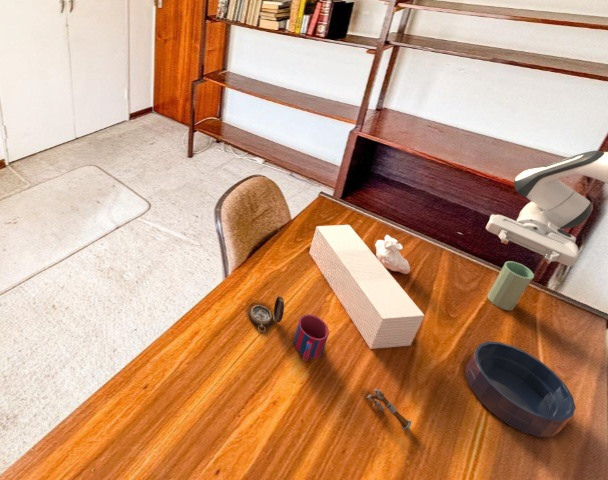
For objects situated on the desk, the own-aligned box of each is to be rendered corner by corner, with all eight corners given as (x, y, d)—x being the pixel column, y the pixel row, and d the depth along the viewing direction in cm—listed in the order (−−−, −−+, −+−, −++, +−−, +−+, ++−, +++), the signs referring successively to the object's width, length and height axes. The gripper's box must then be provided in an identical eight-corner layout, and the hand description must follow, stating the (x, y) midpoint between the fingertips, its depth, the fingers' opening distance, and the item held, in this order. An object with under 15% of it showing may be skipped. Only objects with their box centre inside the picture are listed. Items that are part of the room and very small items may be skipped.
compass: (248, 305, 106) (251, 285, 103) (278, 311, 105) (283, 291, 102) (248, 331, 99) (252, 311, 96) (280, 338, 98) (286, 318, 94)
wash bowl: (513, 359, 95) (525, 341, 92) (582, 438, 80) (599, 420, 77) (447, 359, 94) (457, 341, 91) (504, 438, 79) (518, 420, 77)
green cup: (502, 292, 113) (520, 261, 108) (520, 310, 108) (540, 278, 103) (481, 292, 113) (499, 261, 108) (498, 310, 107) (517, 278, 102)
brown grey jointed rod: (364, 390, 86) (378, 384, 83) (396, 425, 83) (412, 421, 80) (361, 396, 85) (375, 391, 82) (394, 432, 82) (410, 428, 79)
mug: (325, 343, 97) (332, 324, 94) (313, 376, 89) (320, 356, 86) (298, 328, 100) (304, 309, 97) (284, 358, 93) (290, 339, 90)
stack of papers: (410, 345, 97) (425, 315, 92) (370, 349, 96) (383, 318, 91) (340, 251, 126) (349, 224, 121) (309, 252, 125) (316, 226, 120)
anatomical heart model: (370, 256, 127) (360, 238, 122) (389, 241, 127) (380, 223, 121) (400, 285, 117) (391, 267, 111) (421, 269, 117) (413, 251, 111)
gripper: (495, 205, 127) (485, 223, 119) (583, 240, 113) (579, 263, 105) (487, 220, 130) (477, 239, 121) (572, 257, 116) (567, 280, 108)
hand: (525, 250), depth 113 cm, fingers open, 8 cm apart
